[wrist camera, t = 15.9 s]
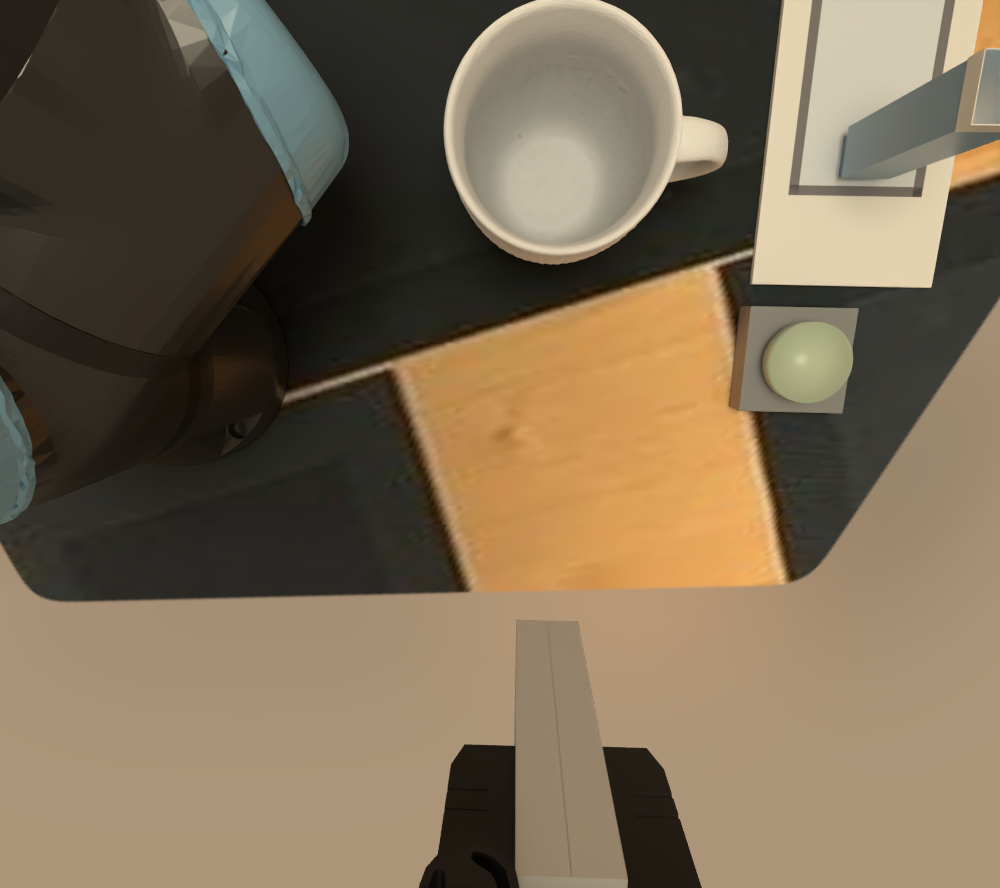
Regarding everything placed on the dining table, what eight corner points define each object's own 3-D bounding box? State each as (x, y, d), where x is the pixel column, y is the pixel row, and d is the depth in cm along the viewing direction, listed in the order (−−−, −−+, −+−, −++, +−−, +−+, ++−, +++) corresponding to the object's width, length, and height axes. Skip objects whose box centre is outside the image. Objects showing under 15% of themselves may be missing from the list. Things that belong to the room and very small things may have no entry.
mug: (689, 85, 37) (777, -31, 25) (689, 263, 40) (769, 241, 27) (459, 106, 38) (430, 4, 25) (473, 279, 41) (452, 265, 28)
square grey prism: (832, 182, 38) (970, 125, 26) (839, 130, 37) (985, 48, 26) (880, 183, 38) (1040, 126, 26) (888, 131, 37) (1057, 48, 26)
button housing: (728, 406, 42) (739, 410, 40) (739, 306, 40) (751, 306, 38) (827, 408, 42) (842, 413, 40) (842, 308, 40) (858, 308, 38)
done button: (744, 394, 41) (765, 402, 38) (753, 320, 40) (775, 320, 37) (818, 396, 41) (846, 404, 38) (829, 321, 40) (859, 322, 37)
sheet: (749, 284, 40) (752, 284, 40) (796, -133, 35) (800, -138, 34) (927, 287, 40) (931, 287, 39) (1002, -133, 34) (1008, -138, 34)
